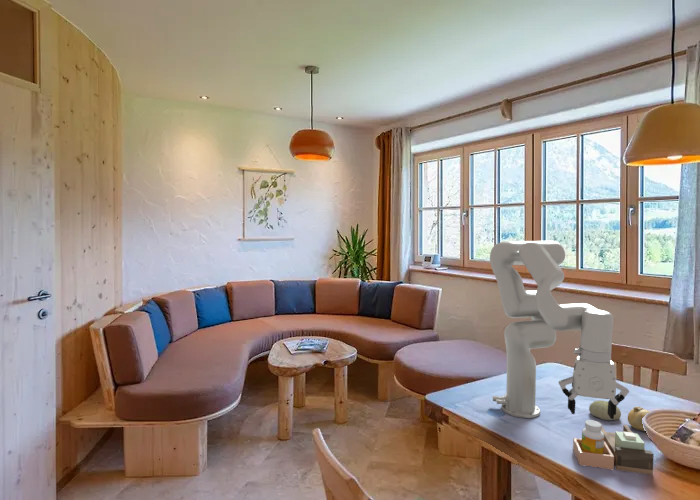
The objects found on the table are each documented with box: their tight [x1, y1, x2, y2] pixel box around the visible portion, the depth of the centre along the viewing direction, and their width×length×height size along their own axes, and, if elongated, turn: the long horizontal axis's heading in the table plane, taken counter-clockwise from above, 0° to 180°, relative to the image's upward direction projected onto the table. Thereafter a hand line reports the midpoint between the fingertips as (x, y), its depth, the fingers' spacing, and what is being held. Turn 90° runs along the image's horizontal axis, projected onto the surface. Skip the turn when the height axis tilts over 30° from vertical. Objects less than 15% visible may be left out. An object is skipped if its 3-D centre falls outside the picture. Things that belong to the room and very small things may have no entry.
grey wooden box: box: [598, 421, 654, 476], centre depth 123 cm, size 20×8×6 cm, turn 164°
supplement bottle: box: [581, 419, 604, 454], centre depth 120 cm, size 5×5×10 cm
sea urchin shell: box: [588, 399, 622, 421], centre depth 147 cm, size 9×8×8 cm
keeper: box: [614, 430, 646, 450], centre depth 118 cm, size 5×5×7 cm
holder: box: [572, 437, 615, 471], centre depth 120 cm, size 8×8×4 cm
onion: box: [627, 406, 651, 432], centre depth 137 cm, size 8×8×7 cm
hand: (591, 414), depth 120 cm, fingers open, 9 cm apart
